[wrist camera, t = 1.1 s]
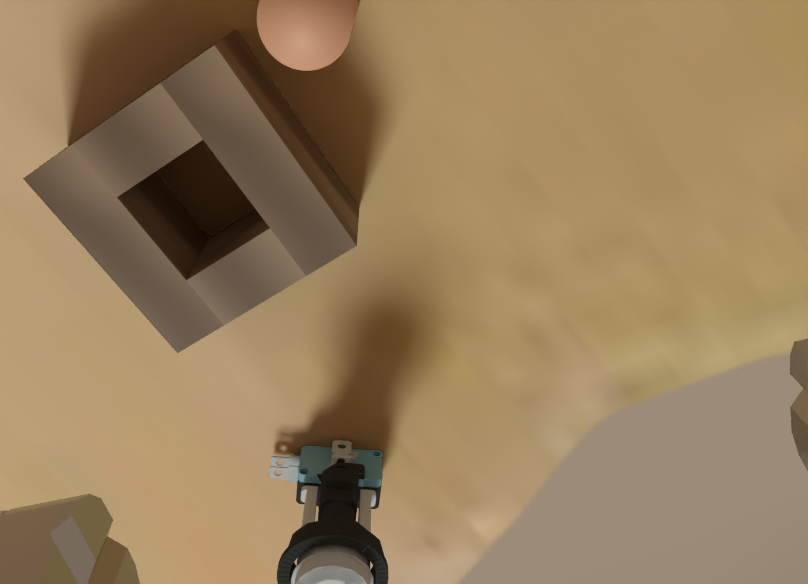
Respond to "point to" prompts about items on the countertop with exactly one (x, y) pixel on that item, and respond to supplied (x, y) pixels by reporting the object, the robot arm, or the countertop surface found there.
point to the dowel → (306, 30)
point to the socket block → (169, 221)
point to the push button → (333, 516)
